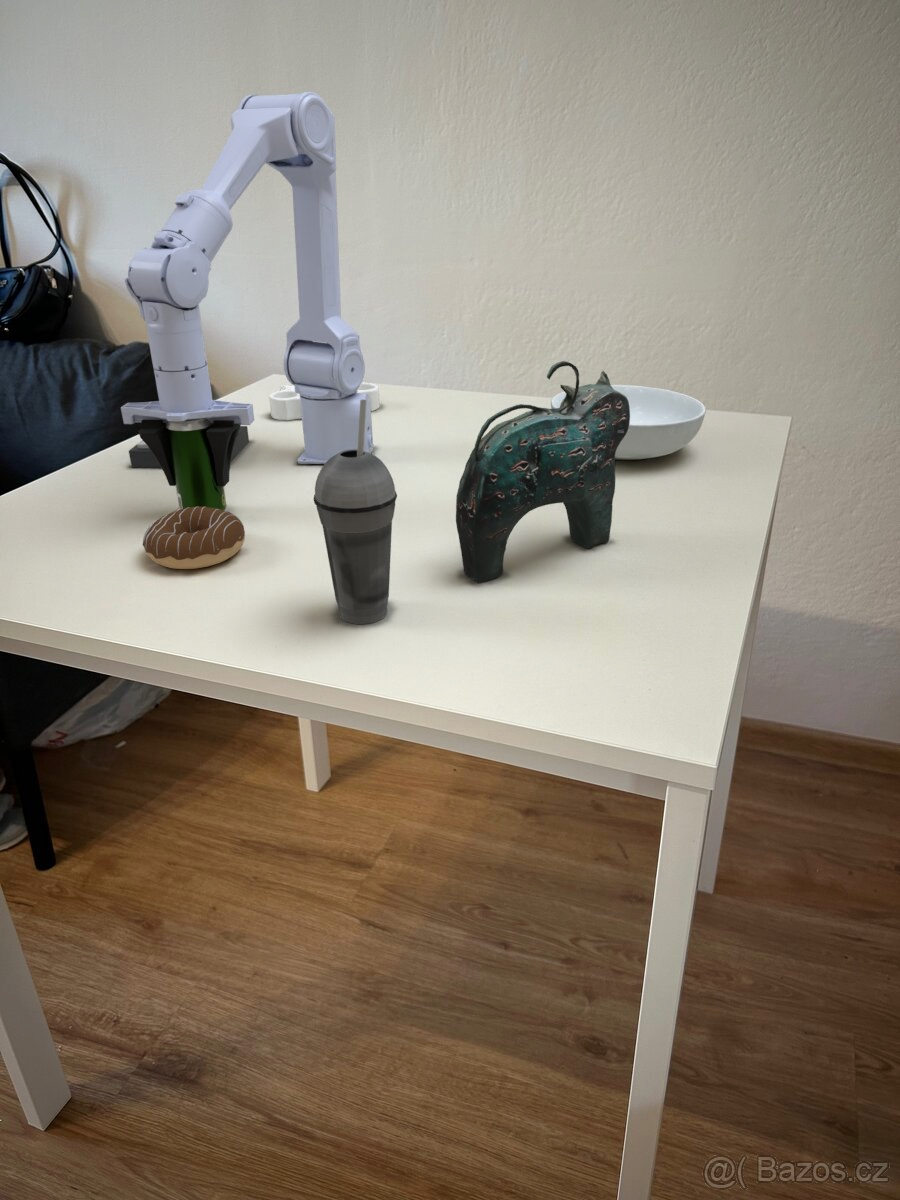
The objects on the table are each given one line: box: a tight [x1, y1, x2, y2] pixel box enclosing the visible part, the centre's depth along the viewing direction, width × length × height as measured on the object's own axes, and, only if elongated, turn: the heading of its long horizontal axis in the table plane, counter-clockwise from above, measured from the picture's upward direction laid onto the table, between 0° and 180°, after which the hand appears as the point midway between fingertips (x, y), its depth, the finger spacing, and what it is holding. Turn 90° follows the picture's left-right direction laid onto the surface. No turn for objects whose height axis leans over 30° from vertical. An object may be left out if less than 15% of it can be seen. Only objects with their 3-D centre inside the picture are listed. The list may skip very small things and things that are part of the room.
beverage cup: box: [313, 399, 398, 625], centre depth 76 cm, size 7×7×20 cm
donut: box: [142, 507, 246, 570], centre depth 92 cm, size 11×11×4 cm
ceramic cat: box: [455, 360, 630, 584], centre depth 86 cm, size 20×6×20 cm, turn 124°
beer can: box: [165, 418, 228, 511], centre depth 100 cm, size 5×5×12 cm
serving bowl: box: [550, 384, 707, 461], centre depth 120 cm, size 21×21×7 cm
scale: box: [128, 425, 250, 469], centre depth 122 cm, size 13×12×3 cm
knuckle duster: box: [268, 382, 381, 421], centre depth 142 cm, size 3×18×15 cm
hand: (199, 483), depth 101 cm, fingers closed on beer can, 5 cm apart
